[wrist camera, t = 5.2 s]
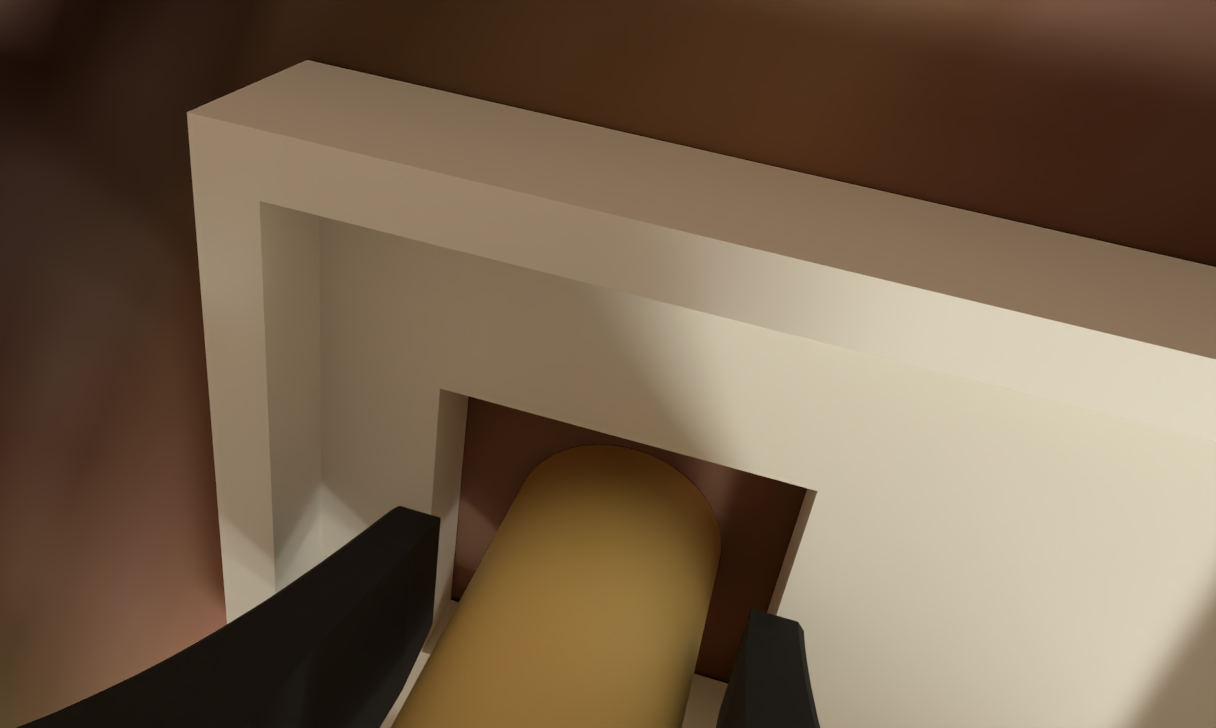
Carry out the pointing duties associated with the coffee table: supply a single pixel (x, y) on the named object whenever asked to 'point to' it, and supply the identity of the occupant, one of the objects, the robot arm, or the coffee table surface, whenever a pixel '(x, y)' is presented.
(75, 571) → the coffee table surface
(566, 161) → the bore box
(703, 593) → the peg
